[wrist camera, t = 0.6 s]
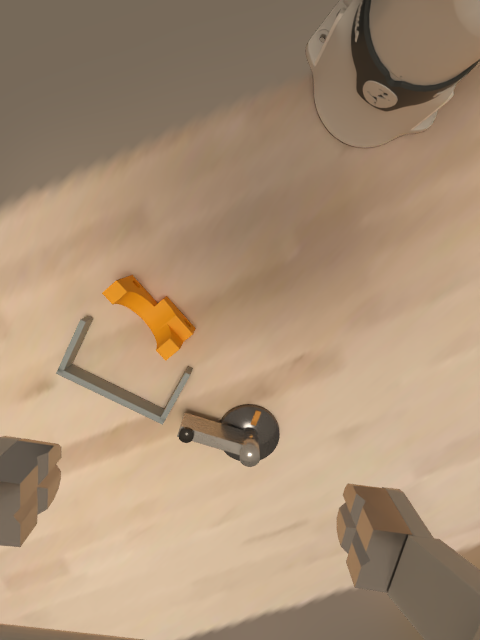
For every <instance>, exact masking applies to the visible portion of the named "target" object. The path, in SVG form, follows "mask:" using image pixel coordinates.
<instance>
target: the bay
mask: <svg viewBox="0 0 480 640" xmlns="http://www.w3.org/2000/svg"><path fill="white" fill-rule="evenodd" d="M92 320H93V318H92V317H90V316H86V317H84V318H83V319H81V320H80V322H79V324H78V326H77V328H76V331H75V333H74V335H73V337H72V340H71V342H70V344H69V346H68V348H67V351H66V353H65V355H64V357H63V359H62V362H61V364H60V366H59V368H58V370H57V373H56V374H58V375H60V376H62V377H64V378H66V379H69V380H71V381H73V382H75V383H77V384H79V385H81V386H83V387H85V388H87V389H89V390H92V391H94V392H96V393H98V394H100V395H102V396H104V397H106V398H108V399H110V400H112V401H114V402H117V403H119V404H121V405H123V406H125V407H127V408H129V409H131V410H133V411H135V412H137V413H139V414H142V415H144V416H146V417H148V418H150V419H152V420H154V421H156V422H158V423H160V424H162V425H163V423H164V421H165V419H166V418H167V416H168V414H169V412H170V410H171V409H172V407H173V405H174V403H175V401H176V400H177V398H178V396H179V394H180V392H181V391H182V389H183V387H184V385H185V384H186V382H187V380H188V378H189V376H190V374H191V372H192V369H193V368H191V367H189V366H188V367H187V369H186V371H185V373H184V374H183V376H182V378H181V380H180V382H179V383H178V385H177V387H176V389H175V391H174V392H173V394H172V396H171V398H170V400H169V402H168V403H167V405H166V407H165V409H163V408H161V407H159V406H157V405H155V404H153V403H151V402H149V401H147V400H145V399H143V398H140V397H138V396H136V395H134V394H132V393H130V392H128V391H126V390H124V389H122V388H120V387H118V386H116V385H114V384H112V383H110V382H108V381H106V380H103V379H101V378H99V377H97V376H95V375H93V374H91V373H89V372H87V371H85V370H83V369H81V368H79V367H77V366H75V365H73V364H72V363H73V361H74V359H75V357H76V354H77V352H78V350H79V348H80V346H81V344H82V341H83V339H84V337H85V335H86V333H87V331H88V328H89V326H90V324H91V322H92Z"/></svg>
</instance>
